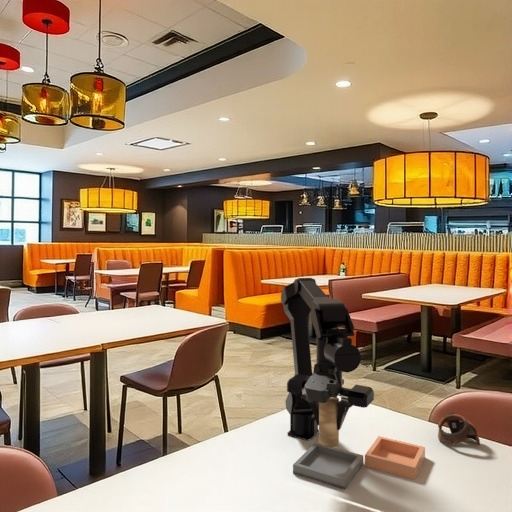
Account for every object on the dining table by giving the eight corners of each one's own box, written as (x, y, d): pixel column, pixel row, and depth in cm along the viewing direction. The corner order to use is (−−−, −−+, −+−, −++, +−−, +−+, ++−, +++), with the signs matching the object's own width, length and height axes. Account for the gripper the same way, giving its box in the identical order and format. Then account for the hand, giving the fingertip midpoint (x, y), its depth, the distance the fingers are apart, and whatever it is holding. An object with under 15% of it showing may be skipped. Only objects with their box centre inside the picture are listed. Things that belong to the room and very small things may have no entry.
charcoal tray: (293, 475, 98) (293, 464, 98) (315, 452, 108) (315, 442, 108) (344, 491, 92) (345, 480, 91) (363, 466, 102) (363, 455, 102)
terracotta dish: (364, 467, 101) (364, 454, 101) (378, 447, 110) (378, 436, 110) (414, 481, 95) (415, 467, 95) (424, 459, 105) (425, 446, 105)
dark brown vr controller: (489, 454, 108) (478, 429, 106) (452, 468, 110) (440, 443, 108) (469, 422, 120) (458, 398, 118) (435, 434, 121) (424, 411, 119)
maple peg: (315, 444, 99) (315, 400, 98) (323, 436, 103) (323, 393, 102) (334, 449, 97) (334, 404, 96) (341, 441, 100) (341, 397, 100)
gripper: (275, 361, 97) (275, 431, 97) (358, 375, 87) (357, 453, 88) (297, 349, 106) (297, 413, 107) (375, 361, 96) (374, 431, 97)
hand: (328, 427), depth 99 cm, fingers closed on maple peg, 4 cm apart
